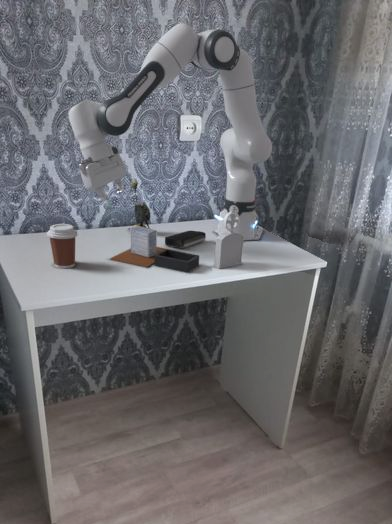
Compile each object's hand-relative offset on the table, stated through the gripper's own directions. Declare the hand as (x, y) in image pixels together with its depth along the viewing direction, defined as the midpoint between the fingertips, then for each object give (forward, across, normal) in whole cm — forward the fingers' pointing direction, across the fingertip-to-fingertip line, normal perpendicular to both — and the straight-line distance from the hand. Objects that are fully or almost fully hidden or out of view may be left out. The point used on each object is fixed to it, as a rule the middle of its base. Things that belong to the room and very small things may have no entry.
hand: (113, 197), depth 165 cm
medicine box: (+20, -4, -6) cm, 22 cm away
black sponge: (+25, +16, -11) cm, 31 cm away
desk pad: (+21, -4, -6) cm, 22 cm away
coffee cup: (+13, -26, +8) cm, 30 cm away
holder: (+26, -7, -19) cm, 33 cm away
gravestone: (+32, +3, -32) cm, 45 cm away
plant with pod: (+17, +20, +8) cm, 28 cm away
